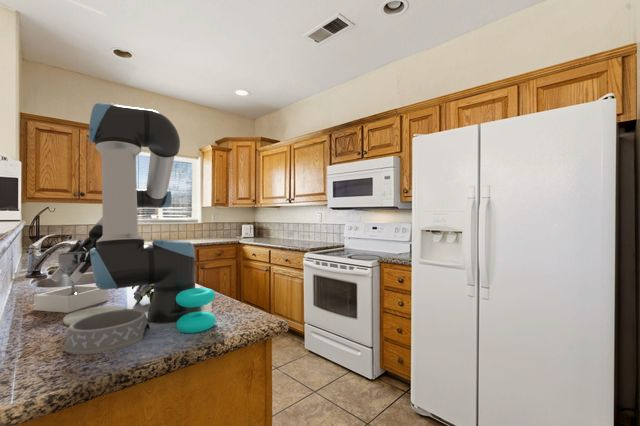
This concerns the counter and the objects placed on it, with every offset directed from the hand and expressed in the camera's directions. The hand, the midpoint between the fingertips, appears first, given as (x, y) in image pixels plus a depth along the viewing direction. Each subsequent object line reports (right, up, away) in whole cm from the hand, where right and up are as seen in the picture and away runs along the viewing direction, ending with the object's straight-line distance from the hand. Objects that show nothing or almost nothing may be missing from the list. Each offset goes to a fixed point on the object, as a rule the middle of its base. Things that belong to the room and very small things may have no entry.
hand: (62, 280), depth 107 cm
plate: (+19, -9, -10) cm, 23 cm away
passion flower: (+28, -9, +4) cm, 30 cm away
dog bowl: (+35, -9, -27) cm, 45 cm away
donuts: (+54, -9, -21) cm, 59 cm away
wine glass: (+1, -6, +3) cm, 7 cm away
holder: (+1, -9, +3) cm, 10 cm away
